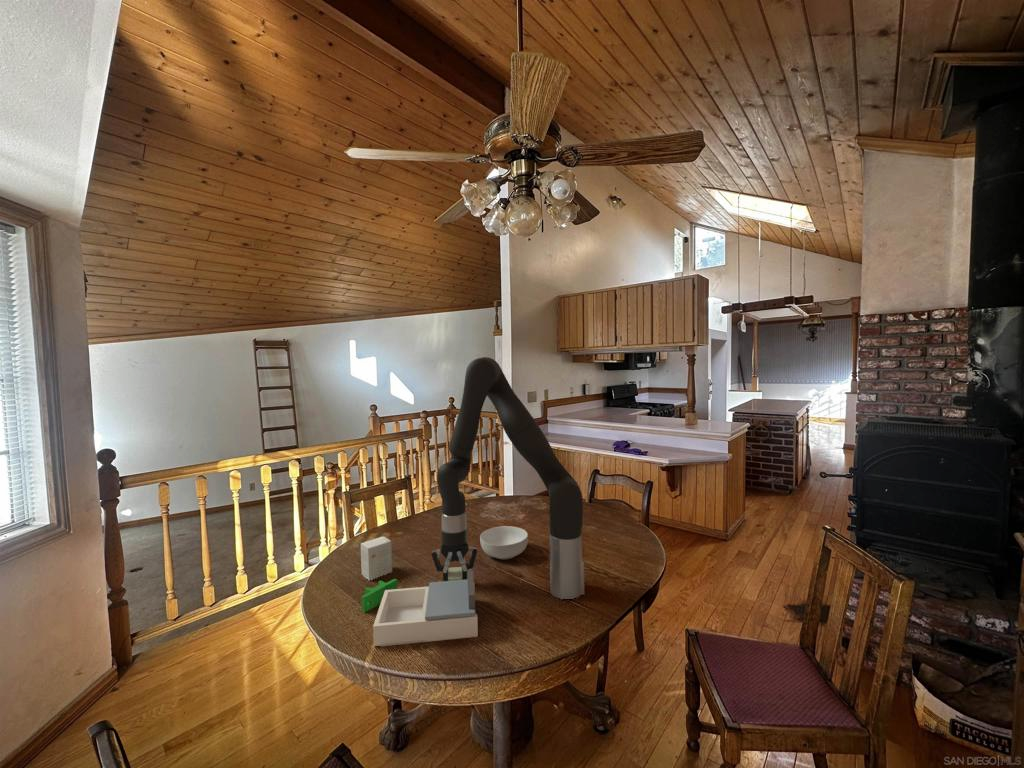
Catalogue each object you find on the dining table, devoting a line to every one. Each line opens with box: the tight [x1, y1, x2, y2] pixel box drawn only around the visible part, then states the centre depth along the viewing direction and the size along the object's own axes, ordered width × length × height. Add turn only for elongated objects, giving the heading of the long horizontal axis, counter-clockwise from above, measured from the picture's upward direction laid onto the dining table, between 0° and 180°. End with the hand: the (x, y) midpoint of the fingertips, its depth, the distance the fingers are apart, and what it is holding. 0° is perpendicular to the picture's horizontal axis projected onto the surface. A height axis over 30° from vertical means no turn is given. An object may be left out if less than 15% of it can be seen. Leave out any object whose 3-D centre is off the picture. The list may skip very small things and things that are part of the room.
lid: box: [425, 568, 476, 620], centre depth 106 cm, size 12×16×4 cm
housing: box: [372, 582, 479, 647], centre depth 106 cm, size 24×16×5 cm, turn 98°
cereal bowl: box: [479, 525, 529, 560], centre depth 144 cm, size 17×17×7 cm
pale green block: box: [448, 566, 463, 581], centre depth 124 cm, size 4×7×4 cm, turn 8°
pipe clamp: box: [360, 578, 398, 614], centre depth 116 cm, size 11×4×5 cm, turn 145°
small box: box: [360, 535, 393, 582], centre depth 131 cm, size 8×6×10 cm
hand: (455, 582), depth 124 cm, fingers open, 4 cm apart
